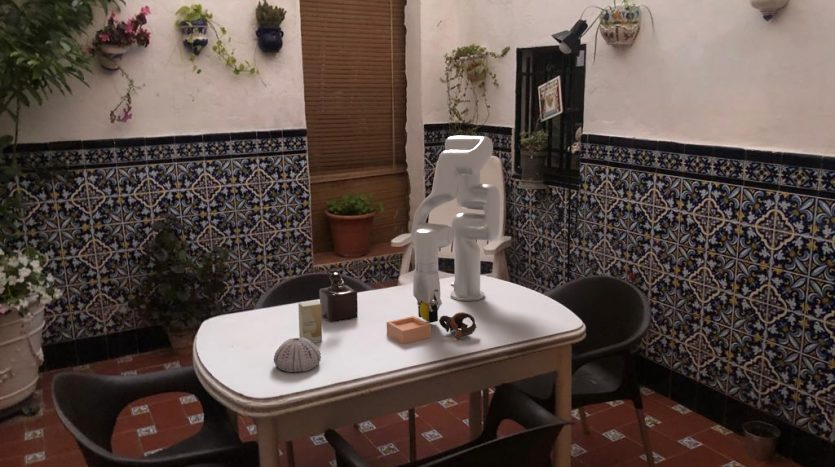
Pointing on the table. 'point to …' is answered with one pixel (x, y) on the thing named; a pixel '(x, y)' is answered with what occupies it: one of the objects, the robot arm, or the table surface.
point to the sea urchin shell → (297, 355)
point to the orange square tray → (408, 329)
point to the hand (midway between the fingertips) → (428, 318)
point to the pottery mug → (458, 324)
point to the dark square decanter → (338, 300)
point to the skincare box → (310, 321)
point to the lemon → (425, 310)
